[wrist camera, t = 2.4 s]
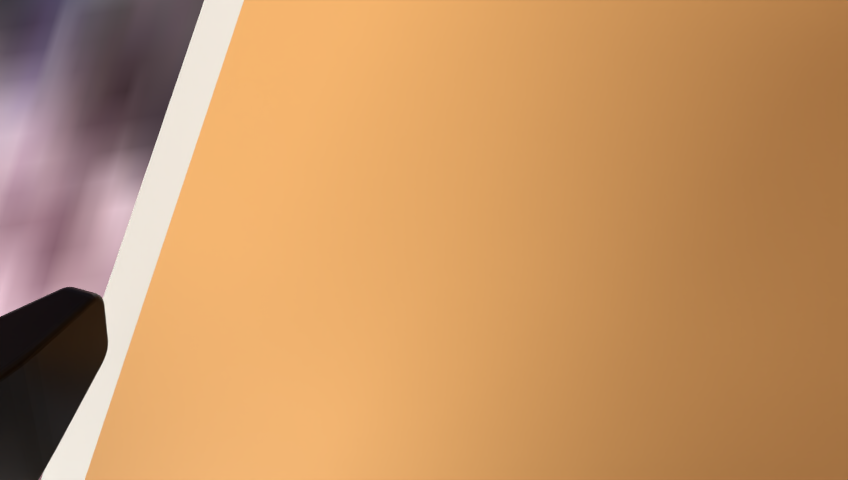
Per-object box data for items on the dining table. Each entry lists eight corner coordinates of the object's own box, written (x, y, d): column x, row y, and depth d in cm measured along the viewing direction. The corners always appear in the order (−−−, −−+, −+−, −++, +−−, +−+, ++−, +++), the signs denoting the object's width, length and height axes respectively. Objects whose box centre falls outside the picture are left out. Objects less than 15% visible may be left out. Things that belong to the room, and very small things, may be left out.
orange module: (547, 471, 17) (824, 738, 5) (327, 409, 17) (72, 515, 5) (600, 251, 17) (954, 11, 6) (389, 195, 18) (293, -150, 6)
